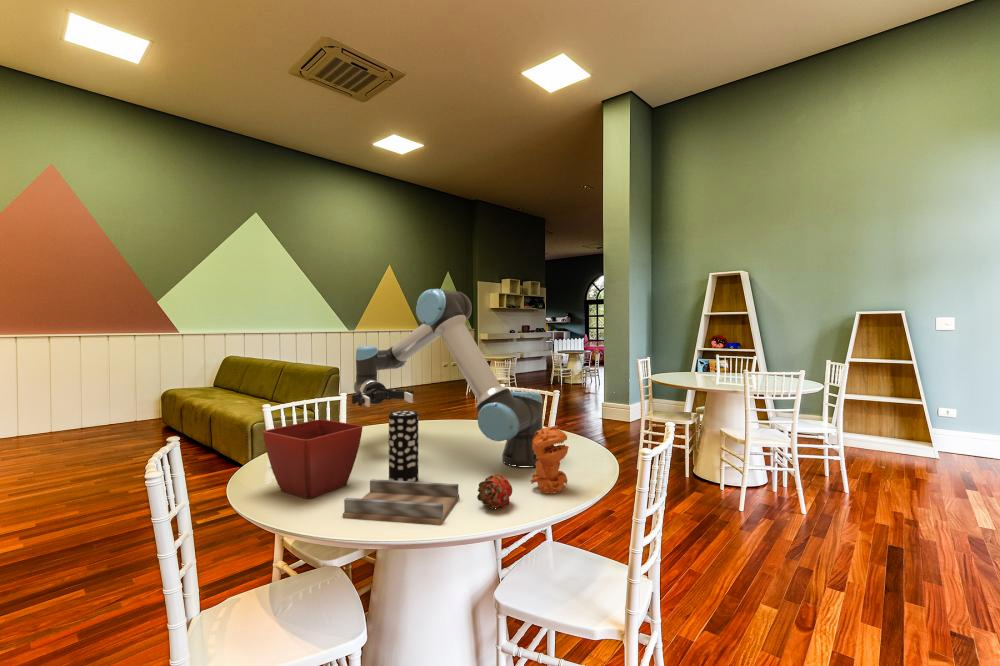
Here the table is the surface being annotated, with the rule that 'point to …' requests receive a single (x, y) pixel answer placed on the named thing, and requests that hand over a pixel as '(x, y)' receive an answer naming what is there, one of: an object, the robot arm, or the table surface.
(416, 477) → the spotted tube
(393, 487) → the track
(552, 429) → the toy dinosaur
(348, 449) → the plant pot
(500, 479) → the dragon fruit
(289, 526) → the table surface
